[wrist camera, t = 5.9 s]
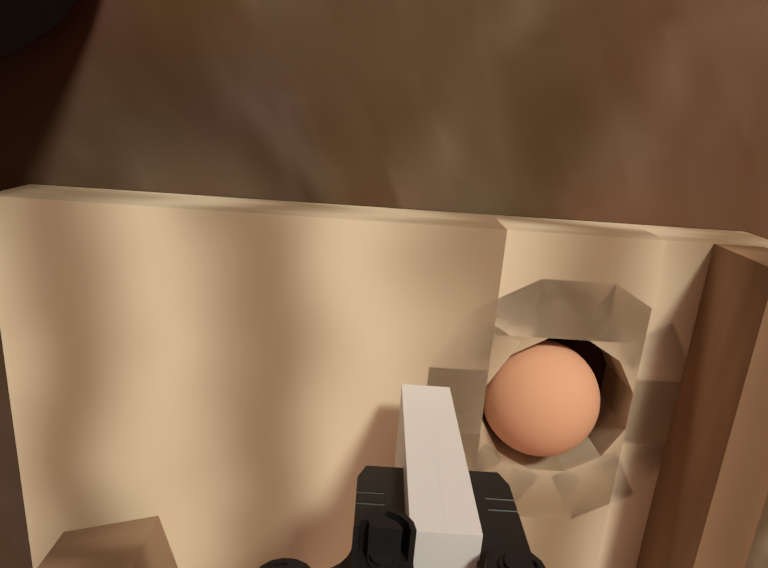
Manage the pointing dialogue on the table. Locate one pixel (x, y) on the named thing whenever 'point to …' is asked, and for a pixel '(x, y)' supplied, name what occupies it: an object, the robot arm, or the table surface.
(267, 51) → the table surface
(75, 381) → the board
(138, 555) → the walnut cube
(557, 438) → the ball
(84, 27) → the table surface
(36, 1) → the coffee jar
